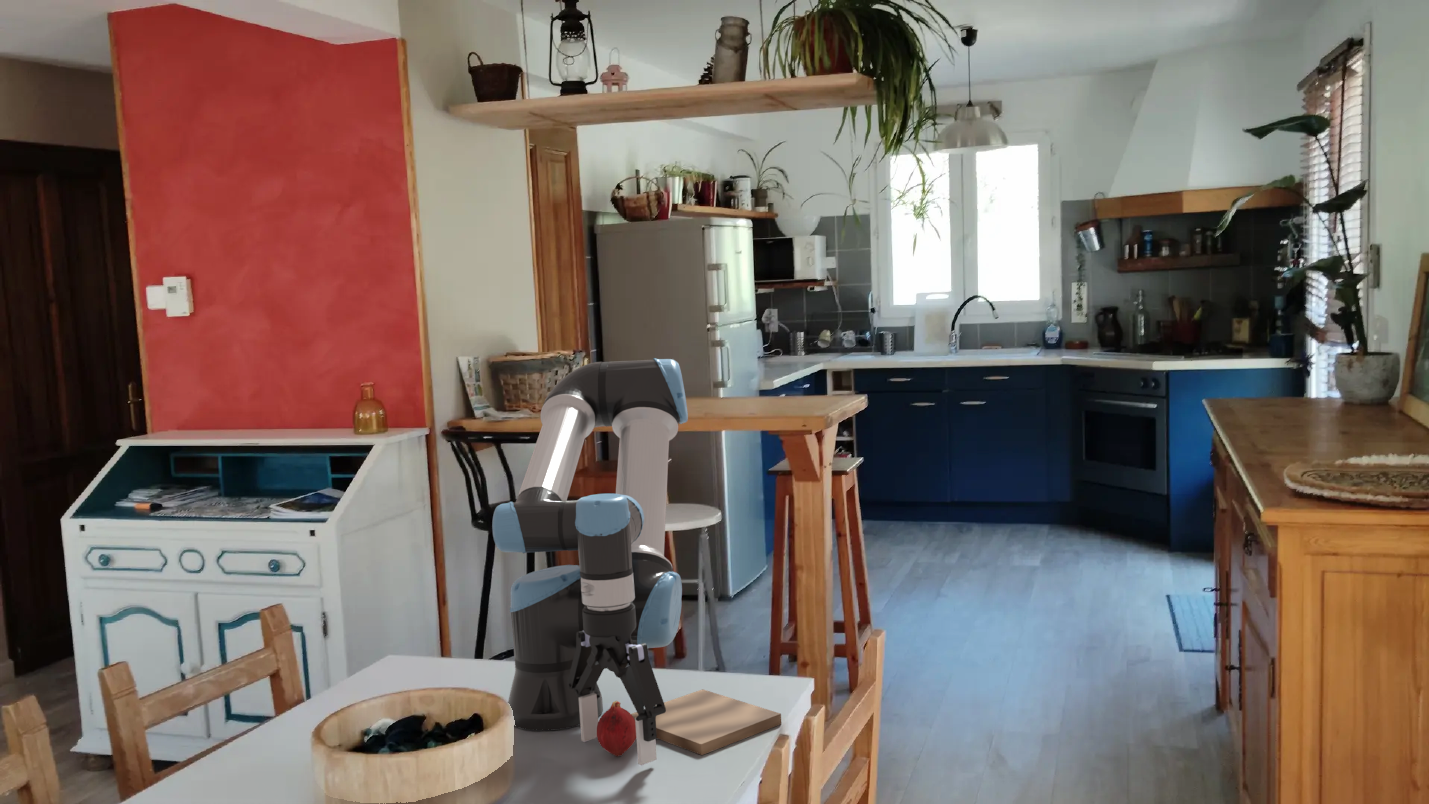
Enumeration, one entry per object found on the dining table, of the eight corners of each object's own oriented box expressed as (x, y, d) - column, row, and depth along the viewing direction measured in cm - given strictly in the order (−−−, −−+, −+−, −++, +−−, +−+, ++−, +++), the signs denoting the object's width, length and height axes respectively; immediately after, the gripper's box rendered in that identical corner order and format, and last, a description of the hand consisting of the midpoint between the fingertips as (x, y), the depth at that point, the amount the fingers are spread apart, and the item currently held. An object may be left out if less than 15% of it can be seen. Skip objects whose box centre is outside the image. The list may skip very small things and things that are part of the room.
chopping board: (624, 726, 178) (624, 716, 178) (703, 698, 189) (702, 689, 189) (701, 755, 165) (701, 744, 164) (781, 723, 175) (780, 713, 175)
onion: (632, 764, 163) (628, 709, 162) (593, 763, 164) (589, 708, 163) (643, 749, 168) (639, 695, 168) (605, 748, 170) (601, 694, 169)
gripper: (537, 596, 171) (547, 736, 173) (641, 624, 153) (651, 780, 154) (579, 586, 176) (588, 722, 178) (685, 612, 158) (694, 764, 159)
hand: (618, 750), depth 166 cm, fingers open, 13 cm apart
